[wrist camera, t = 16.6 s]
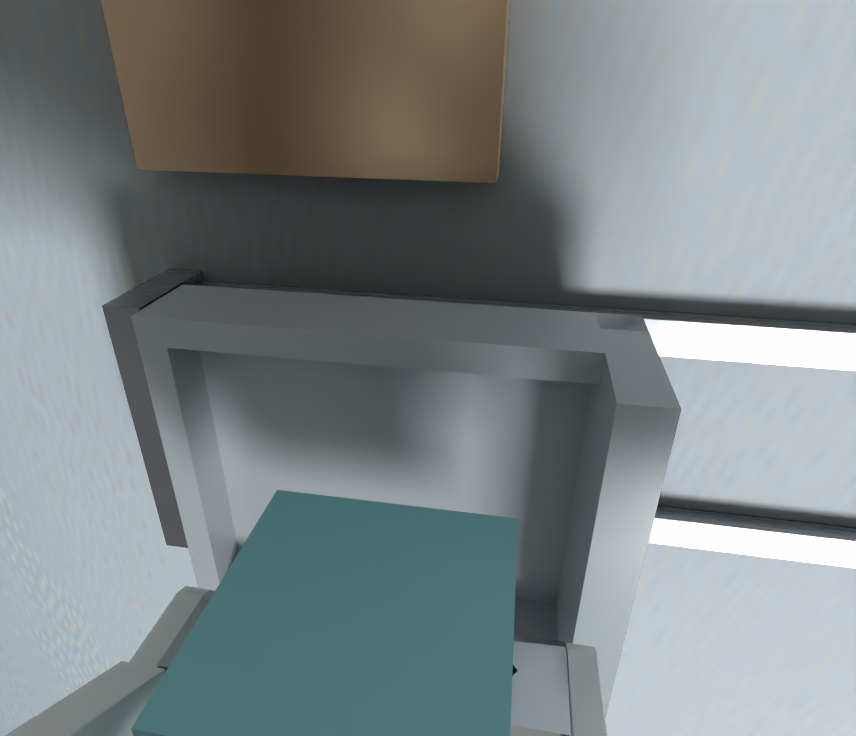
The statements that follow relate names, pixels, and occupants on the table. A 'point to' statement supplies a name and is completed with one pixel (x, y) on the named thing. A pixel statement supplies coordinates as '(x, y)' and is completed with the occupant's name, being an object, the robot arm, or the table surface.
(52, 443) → the table surface
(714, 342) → the rails
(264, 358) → the grey sliding tray
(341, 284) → the table surface
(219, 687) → the block
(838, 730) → the table surface
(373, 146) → the pad
